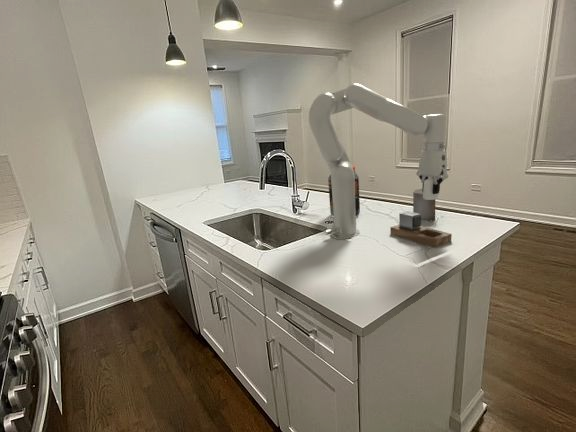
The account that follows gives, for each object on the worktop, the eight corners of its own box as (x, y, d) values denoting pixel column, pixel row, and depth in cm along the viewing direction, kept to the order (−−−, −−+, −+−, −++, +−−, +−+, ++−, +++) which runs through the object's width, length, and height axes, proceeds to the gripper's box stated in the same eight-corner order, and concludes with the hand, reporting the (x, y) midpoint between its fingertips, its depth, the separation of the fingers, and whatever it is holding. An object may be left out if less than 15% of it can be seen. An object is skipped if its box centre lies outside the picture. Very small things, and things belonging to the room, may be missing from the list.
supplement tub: (338, 210, 181) (336, 164, 174) (364, 212, 172) (363, 164, 165) (325, 217, 169) (321, 169, 162) (352, 220, 159) (350, 169, 153)
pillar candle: (430, 215, 156) (430, 185, 152) (438, 220, 146) (439, 188, 142) (410, 217, 156) (409, 187, 152) (417, 222, 147) (417, 191, 143)
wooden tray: (434, 250, 115) (434, 240, 114) (390, 236, 133) (390, 227, 132) (451, 243, 119) (451, 233, 118) (406, 231, 137) (406, 222, 136)
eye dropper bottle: (423, 197, 133) (424, 168, 130) (438, 197, 130) (439, 168, 127) (422, 199, 129) (424, 170, 126) (437, 200, 127) (439, 170, 123)
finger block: (413, 238, 125) (414, 216, 123) (399, 234, 132) (399, 213, 129) (421, 235, 127) (422, 214, 125) (407, 231, 134) (407, 211, 131)
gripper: (459, 146, 119) (455, 194, 124) (421, 146, 133) (419, 188, 138) (446, 148, 115) (443, 197, 120) (409, 147, 130) (407, 191, 134)
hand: (430, 192), depth 129 cm, fingers closed on eye dropper bottle, 4 cm apart
